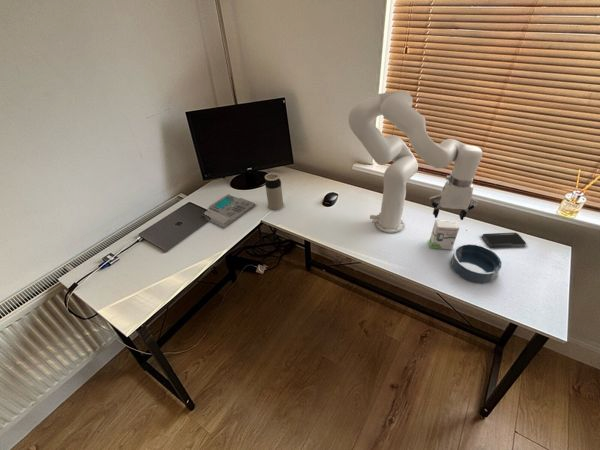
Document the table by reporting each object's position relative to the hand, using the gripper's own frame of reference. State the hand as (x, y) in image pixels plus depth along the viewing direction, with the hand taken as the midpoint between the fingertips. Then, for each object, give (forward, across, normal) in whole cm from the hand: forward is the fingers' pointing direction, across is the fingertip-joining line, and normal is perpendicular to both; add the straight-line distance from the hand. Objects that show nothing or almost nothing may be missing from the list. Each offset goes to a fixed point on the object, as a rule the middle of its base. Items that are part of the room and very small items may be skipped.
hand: (448, 216), depth 121 cm
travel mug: (+18, -78, +20) cm, 83 cm away
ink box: (+15, +1, 0) cm, 15 cm away
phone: (+14, +27, +6) cm, 31 cm away
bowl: (+15, +11, -12) cm, 22 cm away
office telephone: (+18, -103, +13) cm, 105 cm away
